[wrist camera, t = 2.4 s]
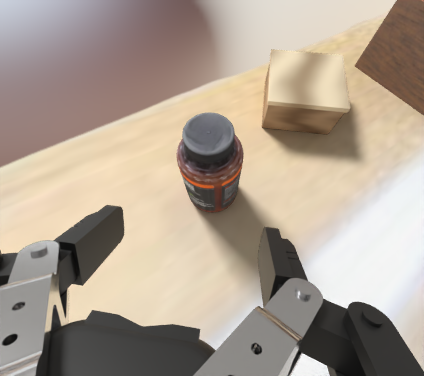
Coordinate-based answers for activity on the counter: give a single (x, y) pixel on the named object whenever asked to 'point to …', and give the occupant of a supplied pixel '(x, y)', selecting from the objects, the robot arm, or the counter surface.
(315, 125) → the pedestal
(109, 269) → the counter surface
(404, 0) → the tissue box cover
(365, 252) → the counter surface
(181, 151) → the supplement bottle
